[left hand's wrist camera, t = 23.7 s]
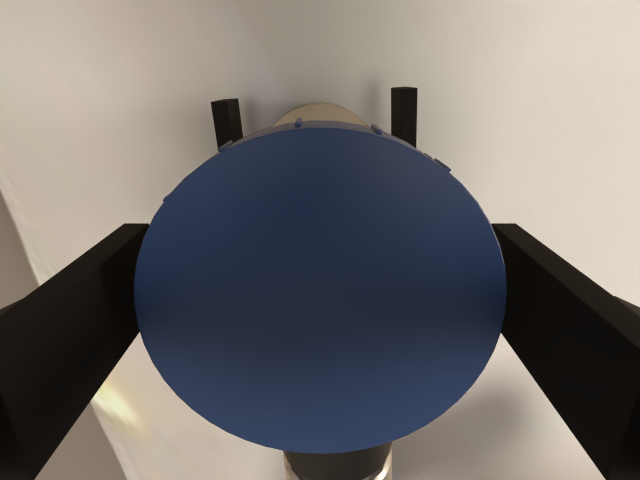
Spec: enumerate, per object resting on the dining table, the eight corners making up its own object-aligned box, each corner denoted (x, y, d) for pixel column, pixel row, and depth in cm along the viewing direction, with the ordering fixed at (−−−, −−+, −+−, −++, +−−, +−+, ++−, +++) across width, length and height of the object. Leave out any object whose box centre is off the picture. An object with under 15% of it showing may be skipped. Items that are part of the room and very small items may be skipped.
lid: (116, 343, 12) (87, 381, 11) (236, 47, 9) (219, 41, 8) (377, 447, 14) (384, 493, 12) (550, 221, 11) (588, 245, 9)
